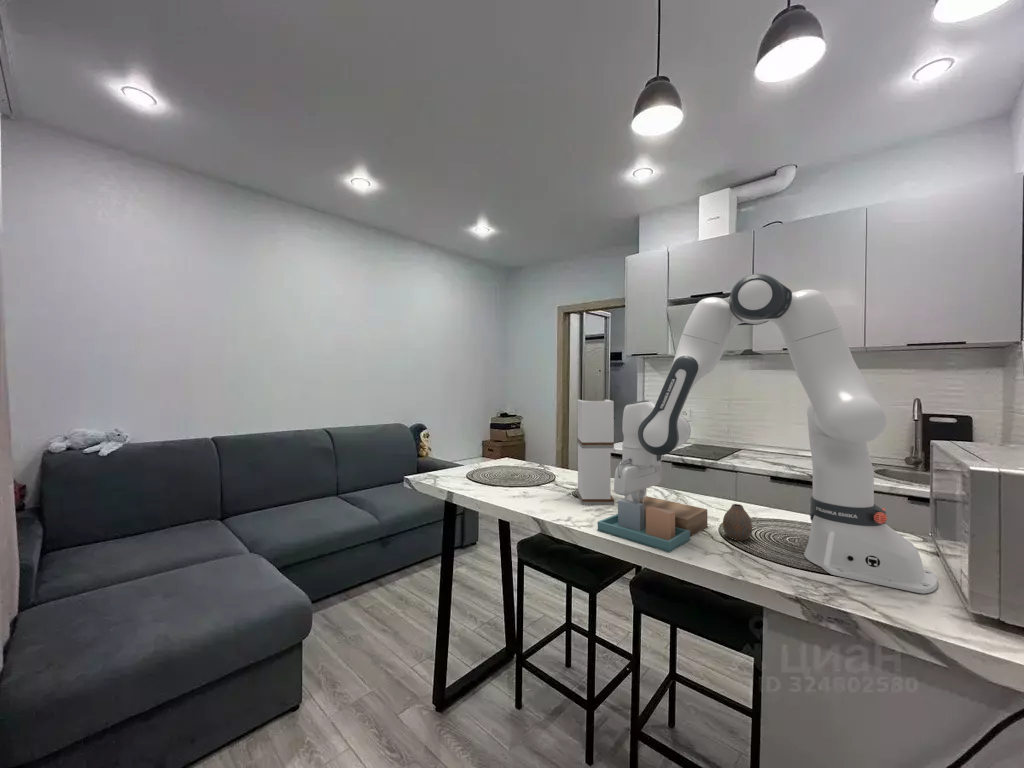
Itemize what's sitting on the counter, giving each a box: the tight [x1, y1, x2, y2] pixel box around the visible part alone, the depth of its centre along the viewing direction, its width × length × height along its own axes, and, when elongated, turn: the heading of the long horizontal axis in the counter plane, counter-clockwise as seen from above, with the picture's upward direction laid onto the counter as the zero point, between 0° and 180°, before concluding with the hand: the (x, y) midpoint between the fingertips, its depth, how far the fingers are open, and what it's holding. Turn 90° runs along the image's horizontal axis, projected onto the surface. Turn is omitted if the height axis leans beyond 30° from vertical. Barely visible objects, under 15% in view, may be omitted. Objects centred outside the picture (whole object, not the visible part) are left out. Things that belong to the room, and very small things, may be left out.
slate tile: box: [617, 498, 645, 531], centre depth 119 cm, size 7×7×2 cm
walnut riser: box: [643, 495, 708, 538], centre depth 123 cm, size 19×13×5 cm
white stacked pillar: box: [577, 399, 615, 506], centre depth 147 cm, size 11×11×35 cm
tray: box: [597, 513, 691, 553], centre depth 114 cm, size 21×12×2 cm, turn 43°
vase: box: [722, 503, 753, 541], centre depth 112 cm, size 7×7×9 cm
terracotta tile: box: [646, 506, 675, 540], centre depth 112 cm, size 7×7×2 cm
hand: (638, 504), depth 122 cm, fingers closed
